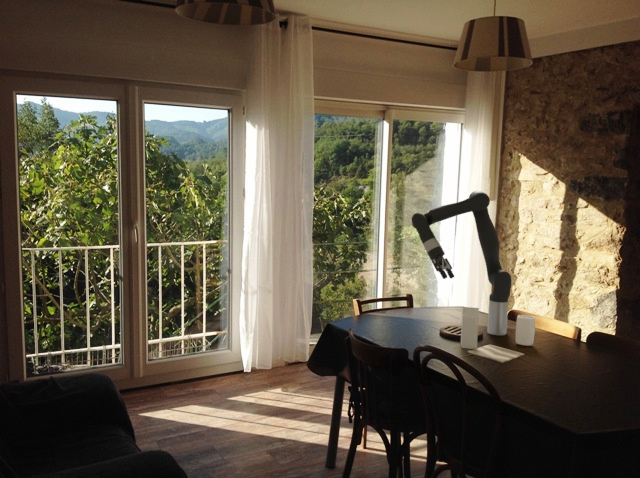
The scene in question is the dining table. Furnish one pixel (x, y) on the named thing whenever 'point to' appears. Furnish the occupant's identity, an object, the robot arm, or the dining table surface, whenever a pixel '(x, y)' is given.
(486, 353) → the birch board
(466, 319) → the milk carton
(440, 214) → the robot arm
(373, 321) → the dining table surface
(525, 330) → the cup
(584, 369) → the dining table surface
